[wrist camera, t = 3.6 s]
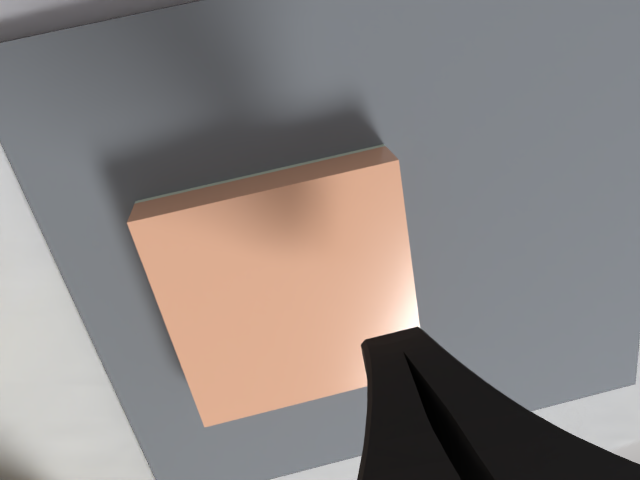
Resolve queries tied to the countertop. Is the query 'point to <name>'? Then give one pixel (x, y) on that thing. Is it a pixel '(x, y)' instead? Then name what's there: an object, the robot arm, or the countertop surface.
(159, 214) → the tile
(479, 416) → the robot arm
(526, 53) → the mat
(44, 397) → the countertop surface
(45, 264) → the countertop surface
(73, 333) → the countertop surface
